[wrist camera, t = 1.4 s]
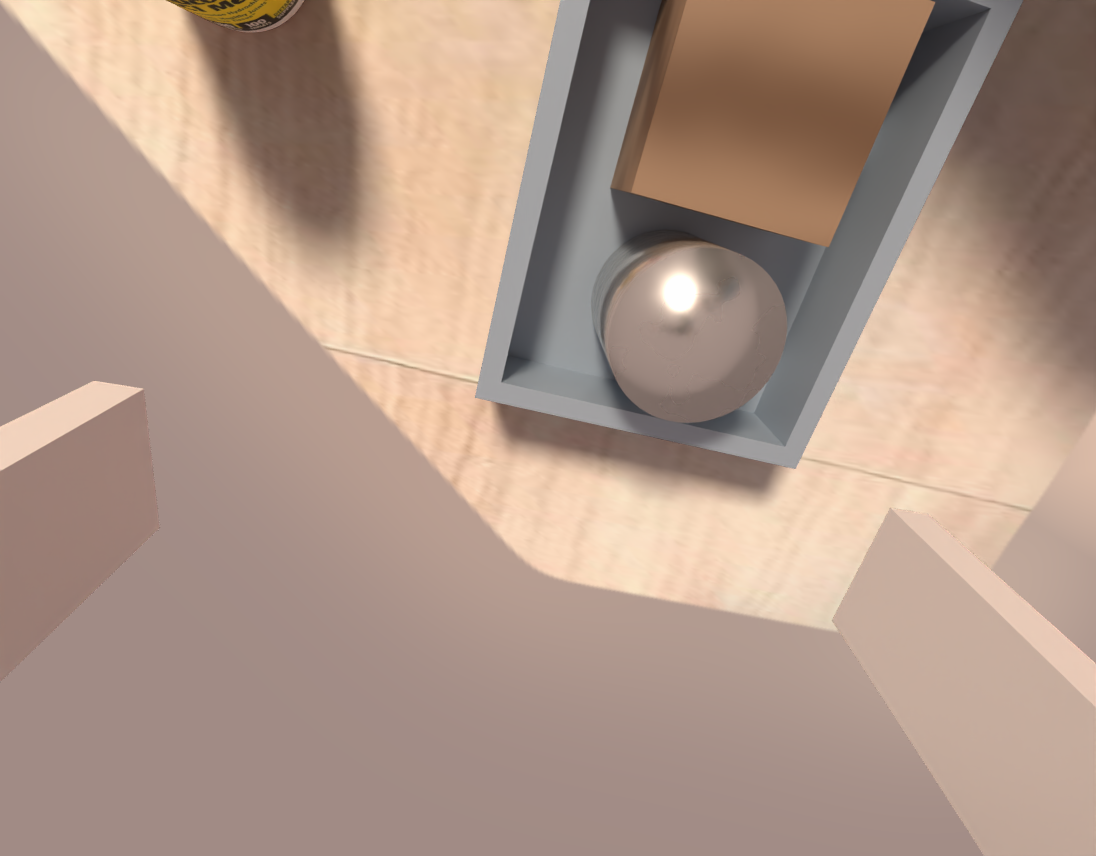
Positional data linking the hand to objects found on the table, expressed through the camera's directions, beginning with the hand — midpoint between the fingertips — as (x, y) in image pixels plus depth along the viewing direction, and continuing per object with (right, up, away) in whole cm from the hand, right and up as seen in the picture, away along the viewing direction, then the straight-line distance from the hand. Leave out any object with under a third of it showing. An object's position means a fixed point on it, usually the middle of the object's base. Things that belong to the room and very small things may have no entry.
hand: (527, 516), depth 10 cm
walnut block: (+8, +15, +15) cm, 23 cm away
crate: (+7, +12, +17) cm, 22 cm away
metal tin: (+6, +8, +18) cm, 21 cm away
